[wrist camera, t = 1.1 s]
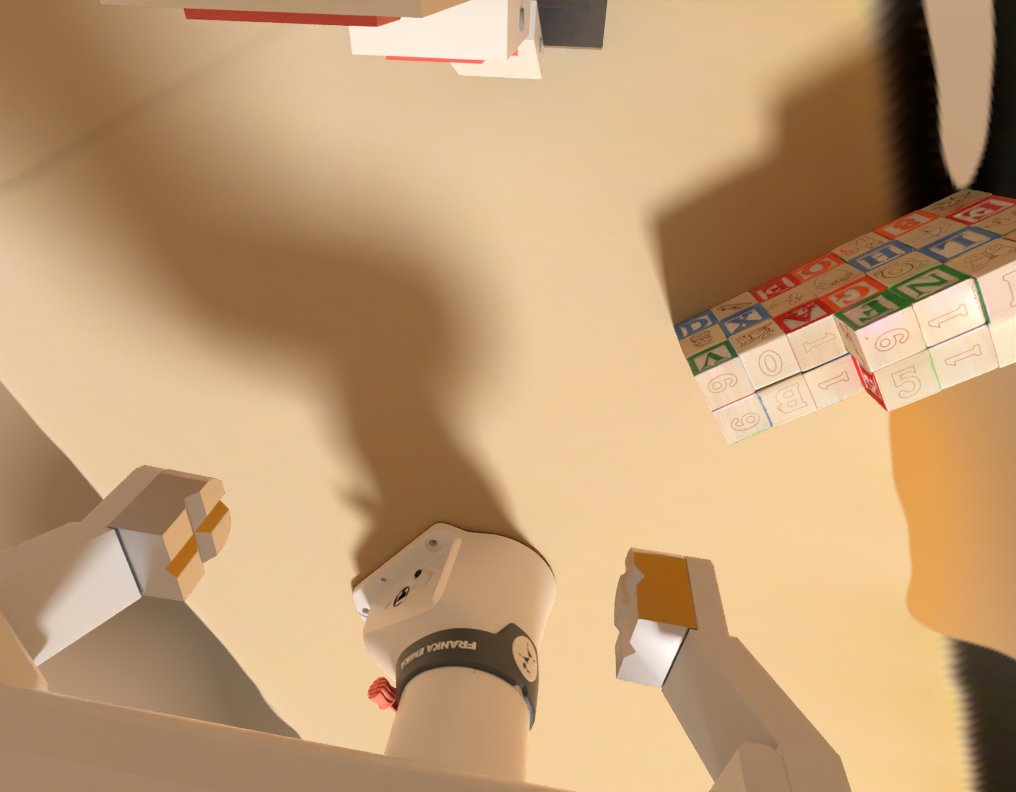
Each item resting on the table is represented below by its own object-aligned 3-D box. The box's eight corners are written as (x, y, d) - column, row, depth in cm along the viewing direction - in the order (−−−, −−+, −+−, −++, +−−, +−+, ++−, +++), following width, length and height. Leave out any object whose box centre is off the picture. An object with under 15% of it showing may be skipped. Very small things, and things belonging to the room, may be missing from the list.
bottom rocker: (543, 82, 35) (535, 45, 27) (457, 78, 35) (426, 40, 27) (545, 48, 34) (538, 0, 26) (458, 44, 34) (427, -4, 27)
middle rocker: (530, 39, 25) (509, 68, 18) (411, 34, 25) (350, 61, 19) (533, -12, 23) (511, -1, 17) (408, -17, 24) (341, -7, 18)
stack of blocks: (702, 387, 48) (737, 471, 37) (671, 325, 46) (699, 395, 35) (987, 264, 41) (1132, 322, 31) (967, 184, 39) (1115, 216, 28)
